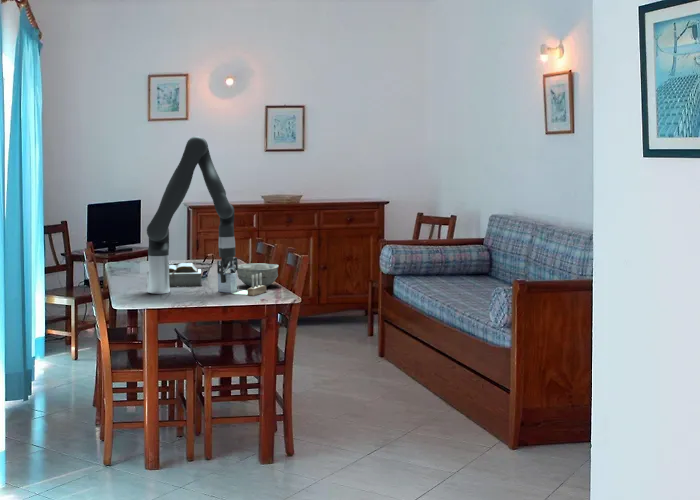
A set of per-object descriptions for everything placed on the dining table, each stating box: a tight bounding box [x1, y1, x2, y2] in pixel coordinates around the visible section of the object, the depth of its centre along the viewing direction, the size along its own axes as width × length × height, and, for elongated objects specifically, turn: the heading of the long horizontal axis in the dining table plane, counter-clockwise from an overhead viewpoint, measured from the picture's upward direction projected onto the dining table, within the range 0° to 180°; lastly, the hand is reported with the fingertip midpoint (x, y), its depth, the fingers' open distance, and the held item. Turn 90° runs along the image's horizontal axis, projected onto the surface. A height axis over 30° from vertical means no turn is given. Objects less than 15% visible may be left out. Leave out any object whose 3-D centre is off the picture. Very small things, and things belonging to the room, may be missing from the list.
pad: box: [231, 289, 248, 296], centre depth 413 cm, size 8×10×1 cm
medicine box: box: [217, 272, 238, 294], centre depth 416 cm, size 8×4×9 cm, turn 58°
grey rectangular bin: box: [169, 262, 202, 288], centre depth 441 cm, size 23×27×10 cm
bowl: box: [236, 262, 279, 288], centre depth 432 cm, size 21×21×10 cm
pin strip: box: [246, 273, 267, 297], centre depth 410 cm, size 3×12×9 cm, turn 157°
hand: (228, 281), depth 416 cm, fingers open, 8 cm apart
